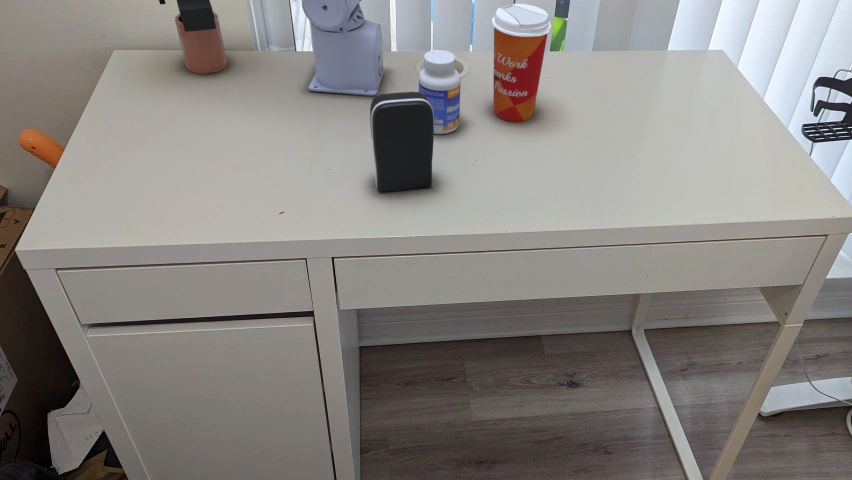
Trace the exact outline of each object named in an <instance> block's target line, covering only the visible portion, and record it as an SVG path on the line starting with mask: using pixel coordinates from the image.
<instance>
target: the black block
mask: <svg viewBox="0 0 852 480" xmlns="http://www.w3.org/2000/svg"><path fill="white" fill-rule="evenodd" d="M176 3H177V9H178V11H179V14H180V15H181V19H182V23H183V26H184V30H185V32H190V31H200V30H210V29H216V25H215V20H214V15H213V12H214V11H213V6H212V3H211V1H210V0H176Z"/></svg>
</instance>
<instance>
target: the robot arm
mask: <svg viewBox="0 0 852 480" xmlns="http://www.w3.org/2000/svg"><path fill="white" fill-rule="evenodd" d="M360 2H362V0H301V7H302V11H303V13H304V15H305V17H306V18H307V19H308V21H309V22H310V31H311V39H312V50H313V57H314V58H313V59H314V67H315V73H314V75H313V77H312V79H311V81H310V83H309V85H308V90H309V91H311V92H320V93H321V92H323V93H335V94H344V95H346V94H347V95H356V96H357V95H358V96H369V97H376V96H377V94H378V91H379V88H380V85H381V82H382V79H383V76H384V73H385V68H384V54H383V51H384V49H383V36H382V35H383V32H382V27H381V24H380V23H379V22H373V21H370V20H367V19H365V15H364V12H363V10H362V7H361V6H360ZM158 3H159V5H166V4H167V3H166V0H158Z"/></svg>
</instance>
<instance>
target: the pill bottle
mask: <svg viewBox="0 0 852 480" xmlns="http://www.w3.org/2000/svg"><path fill="white" fill-rule="evenodd" d="M456 62H457V61H456V55H455V54H454V53H453V52H451V51H449V50H443V49H433V50H429V51H426V53H424V55H423V69H421V71H420V72H419V74H418V92H420V93H422V94H424V95H425V96H426V98H427V99H428V101H429V103H430V104H431V106H432V109H433V114H434V135H435V134H436V135H444V134H450V133H452V132H454V131H456V130H457V129H458V128H459V125H460V112H461V110H460V109H461V75H460V73H459V72H458V71H457V69H456V65H457V63H456Z"/></svg>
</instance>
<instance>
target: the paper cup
mask: <svg viewBox="0 0 852 480" xmlns="http://www.w3.org/2000/svg"><path fill="white" fill-rule="evenodd" d="M491 25H492V26H493V113H494V115H495V116H496V117H497V118H499V119H500V120H502V121H506V122H509V123H521V122H527V121H528V120H530V119H531V118H532V117H533V116H534V115H533V114H534V112H535V106H536V101H537V95H538V90H539V84H540V80H541V79H540V78H541V74H542V68H543V61H544V56H545V51H546V46H547V45H546V44H547V39H548V34H549V33H550V31H551V29H552V24H551V22H550V17H549V14H548V12H547V11H546V10H544V9H543V8H540V7H538V6H535V5H531V4H526V3H512V4H511V5H510V4H508V5H505V6H502V7H498V8H497V9H496V10H495V14H494V16H493V17H492V19H491Z"/></svg>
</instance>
